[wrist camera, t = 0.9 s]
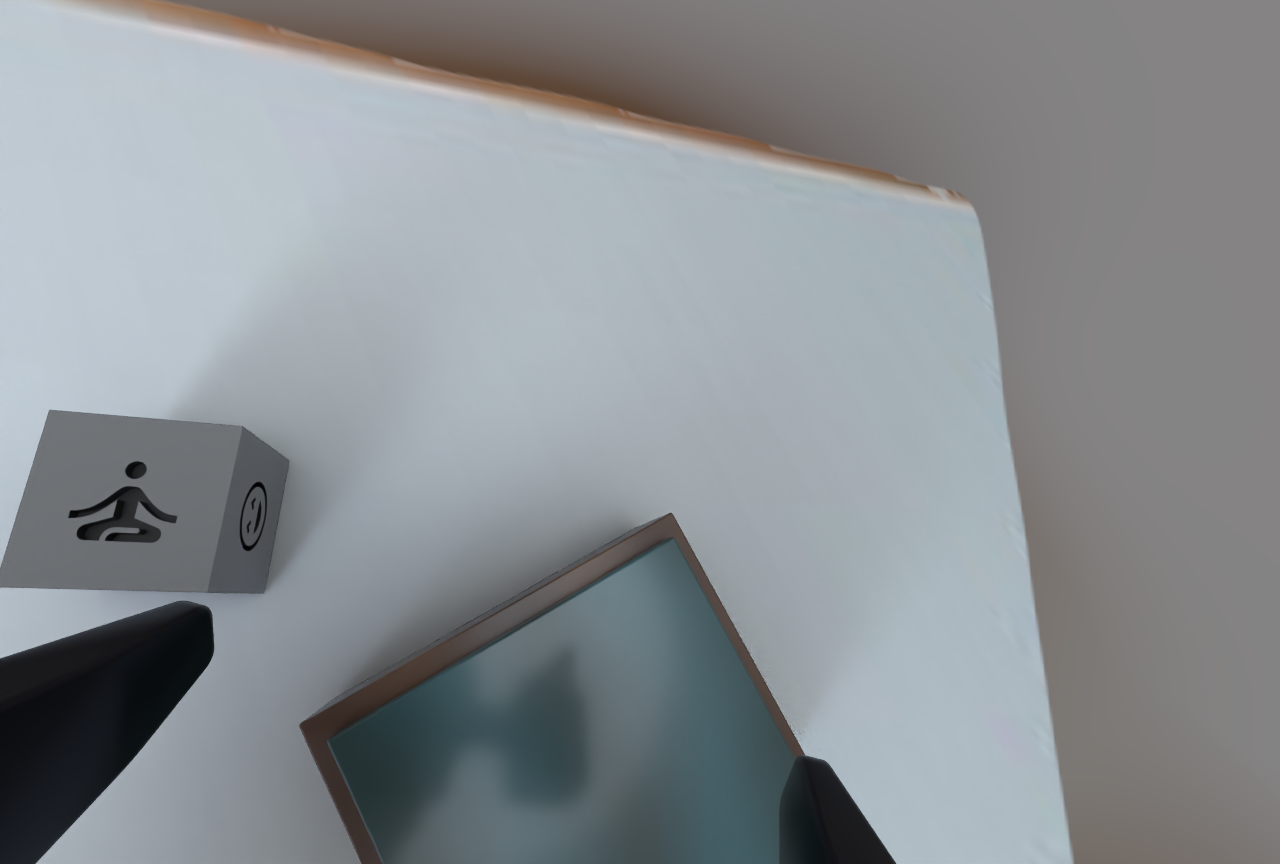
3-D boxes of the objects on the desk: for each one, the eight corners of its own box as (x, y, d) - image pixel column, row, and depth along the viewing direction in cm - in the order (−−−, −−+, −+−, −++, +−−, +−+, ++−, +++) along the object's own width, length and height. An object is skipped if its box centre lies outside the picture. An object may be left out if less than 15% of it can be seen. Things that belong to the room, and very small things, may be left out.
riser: (485, 1020, 20) (489, 1180, 15) (335, 697, 22) (287, 732, 16) (775, 782, 25) (862, 836, 19) (637, 526, 26) (681, 508, 21)
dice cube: (102, 589, 21) (-6, 587, 16) (139, 449, 22) (48, 409, 17) (264, 593, 22) (207, 592, 17) (289, 460, 23) (242, 426, 19)
